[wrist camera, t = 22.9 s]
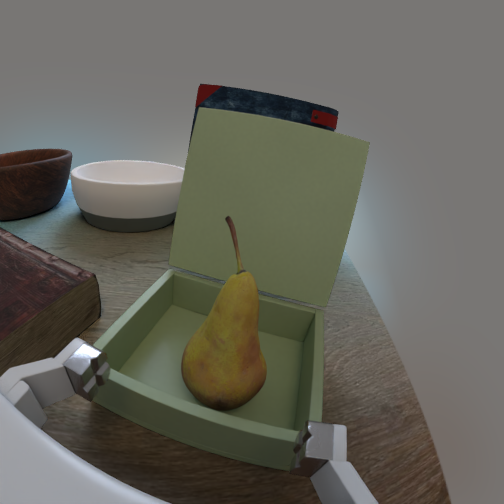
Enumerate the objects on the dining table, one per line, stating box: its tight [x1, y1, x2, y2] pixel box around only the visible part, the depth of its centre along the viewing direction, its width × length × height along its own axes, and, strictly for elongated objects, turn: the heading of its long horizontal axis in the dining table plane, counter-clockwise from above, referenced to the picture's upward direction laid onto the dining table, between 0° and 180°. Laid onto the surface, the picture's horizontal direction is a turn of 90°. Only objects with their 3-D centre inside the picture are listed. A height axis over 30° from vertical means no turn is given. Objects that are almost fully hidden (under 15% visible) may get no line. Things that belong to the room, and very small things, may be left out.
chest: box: [92, 268, 324, 471], centre depth 20 cm, size 14×15×4 cm
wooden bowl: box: [0, 149, 72, 220], centre depth 41 cm, size 25×25×10 cm
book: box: [188, 84, 338, 151], centre depth 50 cm, size 25×7×25 cm, turn 87°
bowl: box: [71, 160, 185, 232], centre depth 46 cm, size 22×22×8 cm
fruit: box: [181, 216, 267, 411], centre depth 16 cm, size 6×6×12 cm
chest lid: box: [169, 107, 370, 307], centre depth 25 cm, size 14×15×5 cm
